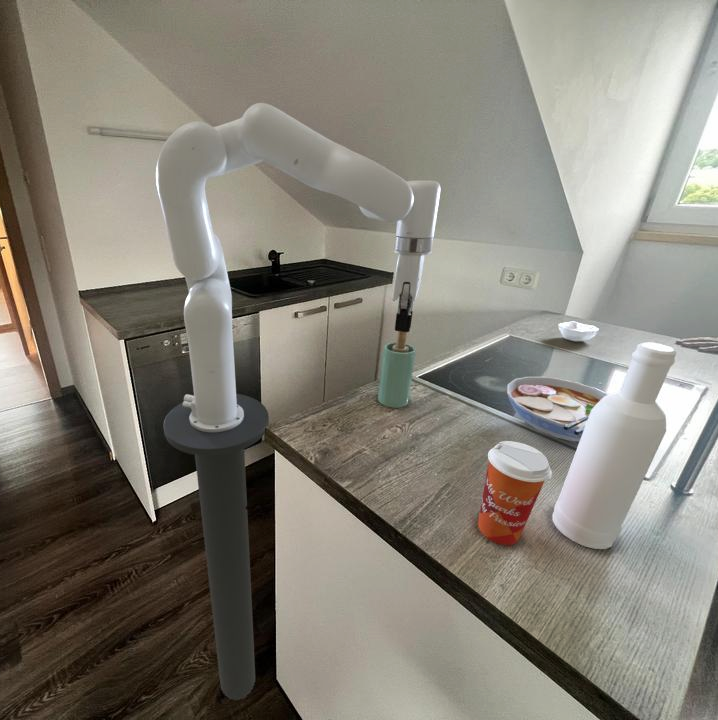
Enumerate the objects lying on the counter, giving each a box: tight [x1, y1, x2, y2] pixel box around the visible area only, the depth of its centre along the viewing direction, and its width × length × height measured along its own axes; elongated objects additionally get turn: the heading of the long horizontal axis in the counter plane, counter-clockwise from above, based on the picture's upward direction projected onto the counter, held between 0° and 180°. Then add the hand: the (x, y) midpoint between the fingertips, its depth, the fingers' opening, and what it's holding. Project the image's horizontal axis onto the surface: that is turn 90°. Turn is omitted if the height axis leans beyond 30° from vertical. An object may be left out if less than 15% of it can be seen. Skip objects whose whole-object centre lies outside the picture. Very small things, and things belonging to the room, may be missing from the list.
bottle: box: [552, 341, 677, 550], centre depth 53 cm, size 8×8×30 cm
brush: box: [392, 331, 409, 353], centre depth 89 cm, size 4×4×16 cm
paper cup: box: [477, 440, 553, 546], centre depth 56 cm, size 8×8×14 cm
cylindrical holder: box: [377, 341, 417, 409], centre depth 93 cm, size 7×7×14 cm
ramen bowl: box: [506, 376, 610, 443], centre depth 82 cm, size 25×23×8 cm
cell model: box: [557, 320, 599, 342], centre depth 134 cm, size 10×12×7 cm
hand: (402, 328), depth 88 cm, fingers closed on brush, 2 cm apart
